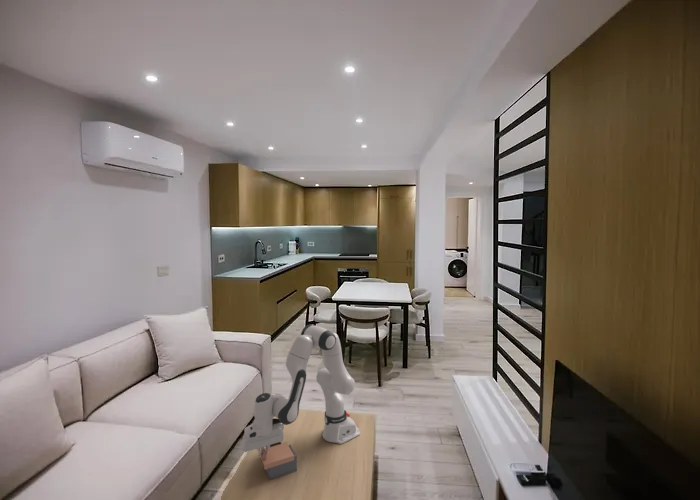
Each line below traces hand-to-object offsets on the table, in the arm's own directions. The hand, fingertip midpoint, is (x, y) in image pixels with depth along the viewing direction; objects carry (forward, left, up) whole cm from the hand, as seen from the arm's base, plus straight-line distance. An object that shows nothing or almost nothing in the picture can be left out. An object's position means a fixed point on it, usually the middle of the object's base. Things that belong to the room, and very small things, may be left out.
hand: (263, 453), depth 177 cm
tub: (-9, 0, -11) cm, 14 cm away
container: (-9, -13, -11) cm, 19 cm away
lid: (-7, 0, -4) cm, 8 cm away
